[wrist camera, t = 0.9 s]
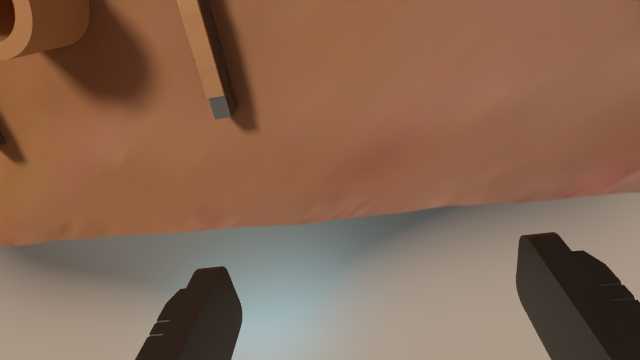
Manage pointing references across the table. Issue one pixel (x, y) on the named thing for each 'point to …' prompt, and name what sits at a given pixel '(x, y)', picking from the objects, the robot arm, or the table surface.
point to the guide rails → (206, 57)
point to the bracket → (40, 25)
